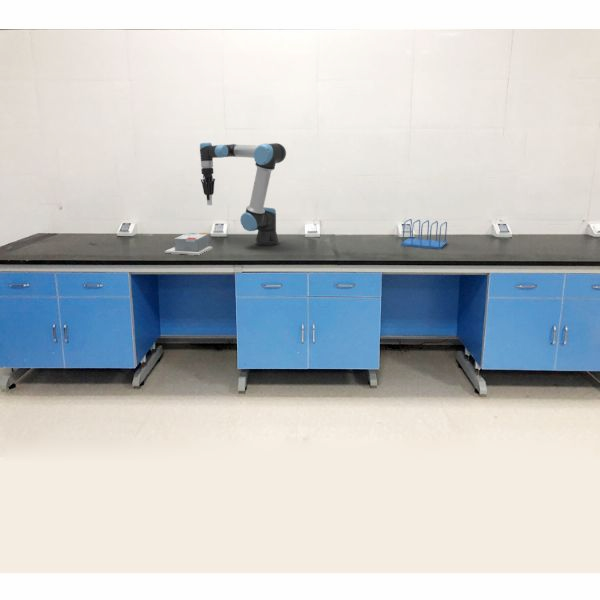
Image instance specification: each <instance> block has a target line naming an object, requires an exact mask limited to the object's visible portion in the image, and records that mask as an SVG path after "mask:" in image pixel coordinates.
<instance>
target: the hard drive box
mask: <svg viewBox="0 0 600 600" xmlns="http://www.w3.org/2000/svg"><path fill="white" fill-rule="evenodd" d="M173 239H174V247H175V250H176V251H200V250H202V249H204V248H206V247H208V246H211V245H212V242H211V241H212V240H211V233H209V232H207V233H206V232H186V233H183V234H181V235H180V236H177V237H175V238H173Z"/></svg>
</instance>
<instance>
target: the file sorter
mask: <svg viewBox="0 0 600 600" xmlns="http://www.w3.org/2000/svg"><path fill="white" fill-rule="evenodd" d="M409 221H410V228H409V230H410V232H409V238H407V239H405V226H406V223H407V222H409ZM412 222H413V220H412V218H409V219H407V220H405V221H404V223H403V232H402V242H401V243H400V245H401V246H403V247H412V248H413V247H415V248H421V247H422V248H423V249H424V248H425V249H431V248H435V249H434V250H441V249H442V247H443V246H444V245H445V246H446V245H447V244H448V242H447V240H446V239H447V230H448V229H447V228H448V221H445V222H443V223H441V224H440V225H438V224H439V221H438V220H435V221H434V222H432V223H431V225H430V220H428V219H427V220H426V221H424V222H422V224H421V219H417V220H415V221H414V222H413V223H412ZM417 222H419V223H418V238H414V226H415V225H414V224H415V223H417ZM425 223H427V233H426V234H427V236H426V239H422V238H423V226H424V224H425ZM434 224H436V231H435V232H436V233H435V240H433V239H432V229H433V228H432V227H433V225H434ZM443 225H445V229H444V230H445V232H444V233H445V234H444V241H443V240H441V235H442V234H441V233H442V226H443ZM438 226H440V227H439V237H438ZM429 229H430V230H429ZM429 232H430V233H429ZM445 246H444V247H445ZM444 247H443V248H444Z"/></svg>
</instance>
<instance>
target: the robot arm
mask: <svg viewBox="0 0 600 600" xmlns="http://www.w3.org/2000/svg"><path fill="white" fill-rule="evenodd" d="M199 153H200V154H199V156H200V163H201V164H200V166H201V175H203V176H202V178H201V179H200V183H201V185H202V190H203V194H204V195H205V196H206V205H207V206H212V205H213V200H212V199H213V197H212V196H213V195H214V192H215V181H216V178H213V174H214V168H213V167H214V160H213V159H215V158H228V157H229V158H232V157H233V158H234V157H235V158H250V159H251V158H252V159H254V162H255V167H256V173H255V176H254V182H253V187H252V191H251V192H252V193H251V197H250V200H249V201H250V202H249V205H248V206H246V209H245V212H243V214H241V216H240V225H242V228H243V229H244V230H245V231H248V232H254V231H257V234H256V237H255V245H259V246H274V245H275V244H276V245H279V244H280V239H279V235H278V233H277V213H276V211H277V210H276V209H275V208H273V207H264V206H265V201H266V197H267V193H268V188H269V184H270V178H271V174H272V171H274V170H275V168H276V164H279V163H281V162H283V161H284V160H285V159H286V155H287V151H286V148H285V147H284V145H283V144H280V143H278V142H277V143H262V144H259V145H256V144H255V145H253V144H248V145H247V144H235V143H231V144H219V145H217V144H216V145H212V143H211V142H201V143H199Z"/></svg>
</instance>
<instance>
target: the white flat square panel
mask: <svg viewBox="0 0 600 600" xmlns="http://www.w3.org/2000/svg"><path fill="white" fill-rule="evenodd" d="M211 250H213V246H211V245H210V246H208V247H206V248H204V249H202V250H200V251H176V250H175V246H173V247H171V248H168V249H167V250H164V254H165V253H171V254H170V255H179V254H188V255H187V256H194V255H199V256H200V254H201V255H202V253H203V254H205V253H207V252H209V251H211ZM206 251H207V252H206ZM204 252H205V253H204Z"/></svg>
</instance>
